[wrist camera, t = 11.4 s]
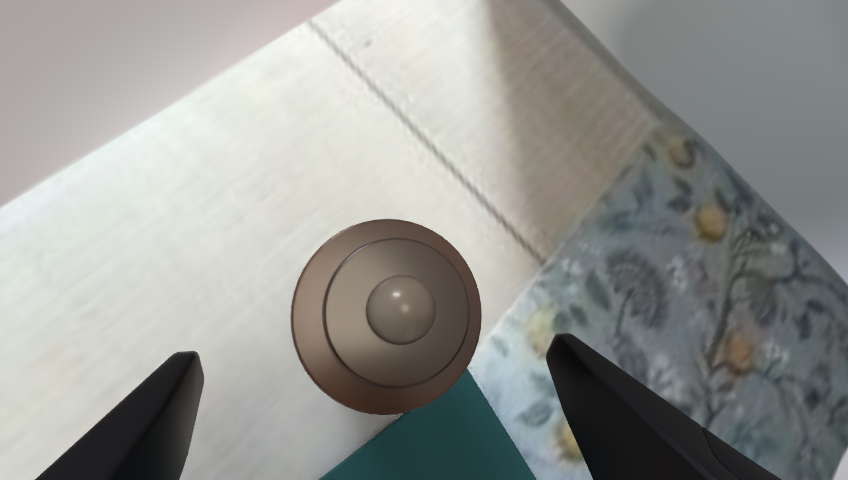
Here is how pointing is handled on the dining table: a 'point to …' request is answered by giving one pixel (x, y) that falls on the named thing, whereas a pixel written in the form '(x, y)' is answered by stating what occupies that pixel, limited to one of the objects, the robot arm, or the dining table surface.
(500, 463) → the napkin
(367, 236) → the pepper mill
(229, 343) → the dining table surface
